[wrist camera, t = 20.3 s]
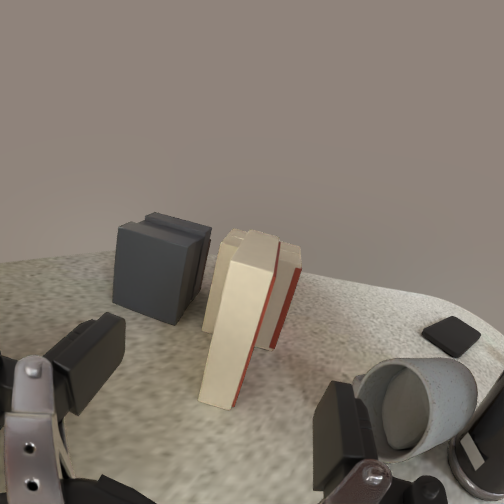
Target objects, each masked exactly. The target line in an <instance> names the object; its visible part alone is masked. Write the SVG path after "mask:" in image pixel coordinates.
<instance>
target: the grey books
mask: <svg viewBox="0 0 504 504" xmlns="http://www.w3.org/2000/svg"><path fill="white" fill-rule="evenodd" d="M211 230H212V228H211V227H208V226H204V225H200V224H197V223H193V222H190V221H186V220H182V219H179V218H175V217H171V216H168V215H163V214H160V213H156V212H154V213H152V214H149V215H146V216H145V220H144V221H141V222H139V223H135V222H129V223H126V224H124V225H121V226H120V227H118V235H117V245H116V255H115V267H114V282H113V303H115V304H118V305H120V306H123V307H125V308H128V309H130V310H133V311H136V312H138V313H141V314H144V315H147V316H149V317H152V318H155V319H158V320H160V321H163V322H166V323H169V324H172V325H176V323H177V322H178V320H179V319H180V318H181V316H182V315H183V312H184V310H185V309H186V308H187V306H188V305H189V303H190V302H191V301H193V299H194V298H195V296H196V295H197V294H198V292H199V291H200V289H201V285H202V280H203V275H204V270H205V266H206V261H207V256H208V251H209V247H210V242H211V239H210V235H211Z"/></svg>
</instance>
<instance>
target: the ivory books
mask: <svg viewBox="0 0 504 504" xmlns="http://www.w3.org/2000/svg"><path fill="white" fill-rule="evenodd" d="M247 233H248V232H245V231H241V230H238V229H232V231H231V232H230V233H229V234H228V235H227V236H226V238H225V239H224V240H223V241H222V242H221V243H220V247H219V252H218V256H217V261H216V265H215V270H214V274H213V279H212V283H211V288H210V293H209V297H208V302H207V307H206V312H205V316H204V321H203V326H202V331H204V332H207V333H210V334H213V331H214V326H215V322H216V318H217V313H218V309H219V305H220V301H221V296H222V292H223V288H224V284H225V280H226V275H227V271H228V267H229V263H230V260H231V259H232V257H233V255H234V254H235V252H236V251H237V249H238V248H239V246H240V244H241V243H242V241H243V240H244V238H245V236H246V235H247ZM279 242H281V241H279ZM301 270H302V263H301V251H300V247H299V246H295V245H292V244H288V243H285V242H281V246H280V253H279V260H278V267H277V274H276V279H275V283H274V286H273V289H272V292H271V296H270V299H269V302H268V305H267V309H266V312H265V315H264V318H263V321H262V324H261V328H260V331H259V334H258V337H257V340H256V343H255V347H258V348H262V349H266V350H270V351H273V349H275V346H276V343H277V341H278V338H279V335H280V332H281V329H282V327H283V324H284V321H285V318H286V315H287V312H288V309H289V306H290V304H291V301H292V298H293V295H294V292H295V289H296V286H297V283H298V280H299V277H300V274H301Z"/></svg>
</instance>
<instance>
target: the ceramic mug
mask: <svg viewBox="0 0 504 504" xmlns="http://www.w3.org/2000/svg"><path fill="white" fill-rule="evenodd" d="M352 387H353V391H354V396H355V398H358V399H361V400H362V402H363V403H364V404H365V406H366V407H367V409H368V413H369V417H370V422H371V426H372V428H371V430H372V431H373V436H374V441H375V445H376V450H377V456H378V460H379V461H381V462H383V463H398V462H403V461H405V460H407V459H410V458H412V457H414V456H416V455H419V454H421V453H423V452H425V451H427V450H429V449H431V448H433V447H435V446H437V445H439V444H441V443H443V442H445V441H447V440H449V439H451V438H452V437H454V436H455V435H457V434H458V433H459V432H460V431H461V430H462V429H463V428H464V427H465V426H466V425H467V424H468V423H469V421H470V419H471V418H472V416H473V414H474V411H475V408H476V405H477V396H478V391H477V384H476V381H475V379H474V376H473V375H472V373H471V372H470V370H469V369H468V368H467V367H466V366H464V365H463V364H462V363H460V362H458V361H455V360H453V359H449V358H441V357H440V358H394V359H389V360H385V361H382V362H380V363H378V364H377V365H375V366H374V367H372V368H371V369H370V370H369V371H368V372H367V373H366V374H363V375H358V376H356V377H355V378H354V380H353V385H352Z"/></svg>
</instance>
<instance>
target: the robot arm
mask: <svg viewBox="0 0 504 504" xmlns="http://www.w3.org/2000/svg"><path fill="white" fill-rule="evenodd" d="M125 330H126V322H125V319H124V318H121V317H119V316H116V315H114V314H111V313H109V312H106V313H104V314H103V315H102V316H101V317H100V318H99V319H98V320H93V319H91V320H88V321H86V322H83V323H81V324H79V325H78V326H77V327H76V328H75V329H74V330H73V331H71V332H70V333H69V334H68V335H66V337H64V338H63V339H62V340H61V341H60V342H58V343H57V344H56V345H55V346H54V347H53V348H51V349H50V350H49V351H48V352H47V353H46V354H45V355H43V356H38V355H29V356H26V357H23V358H22V359H20V360H19V361H17V360H14V359H11V358H8V357H5V356H2V355H1V351H0V430H1V428H2V427H3V426H4V465H5V481H6V492H5V493H0V504H156V503H155V502H153V501H152V500H150V499H149V498H147V497H145V496H144V495H142V494H141V493H139V492H138V491H136V490H135V489H133V488H131V487H129V486H126V485H124V484H122V483H120V482H117V481H115V480H113V479H111V478H109V477H107V476H105V475H103V474H102V475H101V477H100V478H99V480H98V481H97V480H92V479H85V478H76V476H75V473H74V469H73V466H72V462H71V458H70V452H69V446H68V439H67V432H66V424H65V418H64V416H65V415H66V414H67V413H68V411H70V412H71V413H73V414H75V415H77V416H79V415H80V414H81V412H82V411H83V410H84V409H85V407H86V406H87V405H88V403H89V402H90V401H91V400H92V398H93V397H94V396H95V395H96V393H97V392H98V391H99V390H100V388H101V387H102V386H103V385H104V383H105V382H106V381H107V380H108V378H109V377H110V376H111V375H112V373H113V372H114V371H115V370H116V368H117V367H118V366H119V365H120V363H121V361H122V359H123V357H124V353H125ZM371 428H372V426H371V422H370V417H369V413H368V409H367V407H366V406H365V404H364V403H363V402H362V400H361V399H358V398H355V396H354V391H353V387H352V385H351V384H348V383H342V382H337V381H331V382H330V384H329V386H328V388H327V389H326V391H325V393H324V395H323V397H322V399H321V400H320V402H319V404H318V406H317V408H316V410H315V413H314V416H313V491H323V492H324V498H323V499H322V500H321V501H320V502H319V503H318V504H448V501H447V496H446V492H445V488H444V486H443V484H442V483H441V482H440V481H439V480H438V479H437V478H435V477H433V476H428V475H425V476H421V477H419V478H418V479H416V480H415V481H414V482H413V483H412V482H409V481H405V480H401V479H398V478H395V477H393V476H392V473H391V471H390V469H389V468H388V467H387V466H386V465H385V464H384V463H382V462H381V461H379V460H378V456H377V450H376V445H375V441H374V436H373V431H372V430H371ZM448 459H449V464H450V467H451V469H452V472H453V474H454V476H455V477H456V479H457V480H458V482H459V483H460V484H461V485H462V487H463V488H464V489H465V490H467V491H468V492H469V493H470V494H472V495H473V496H475V497H477V498H479V499H482V500H486V501H497V500H501V499H503V498H504V370H503V371H502V373H501V375H500V376H499V378H498V379H497V381H496V382H495V384H494V385H493V387H492V388H491V390H490V391H489V393H488V394H487V395H486V397H485V398H484V400H483V401H482V402H481V404H480V405H479V406H478V408H477V409H476V410H475V412H474V414H473V416H472V418H471V419H470V421H469V423H468V424H467V425H466V426H465V427H464V428H463V429H462V430H461V431H460V432H459V433H458V434H457V435H455V436H454V437H452V439H451V440H450V443H449V447H448Z"/></svg>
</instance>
